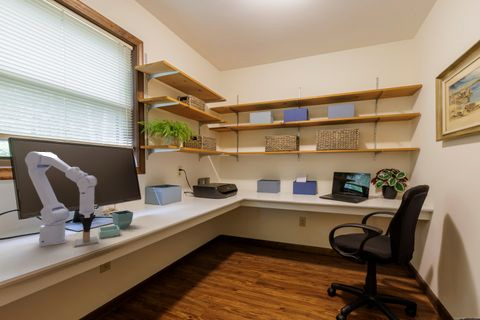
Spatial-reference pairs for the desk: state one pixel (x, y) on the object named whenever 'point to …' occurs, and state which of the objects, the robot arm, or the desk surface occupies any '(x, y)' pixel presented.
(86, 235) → the lid
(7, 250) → the desk surface
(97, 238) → the mat
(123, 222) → the flower pot
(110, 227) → the dish
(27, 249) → the desk surface
